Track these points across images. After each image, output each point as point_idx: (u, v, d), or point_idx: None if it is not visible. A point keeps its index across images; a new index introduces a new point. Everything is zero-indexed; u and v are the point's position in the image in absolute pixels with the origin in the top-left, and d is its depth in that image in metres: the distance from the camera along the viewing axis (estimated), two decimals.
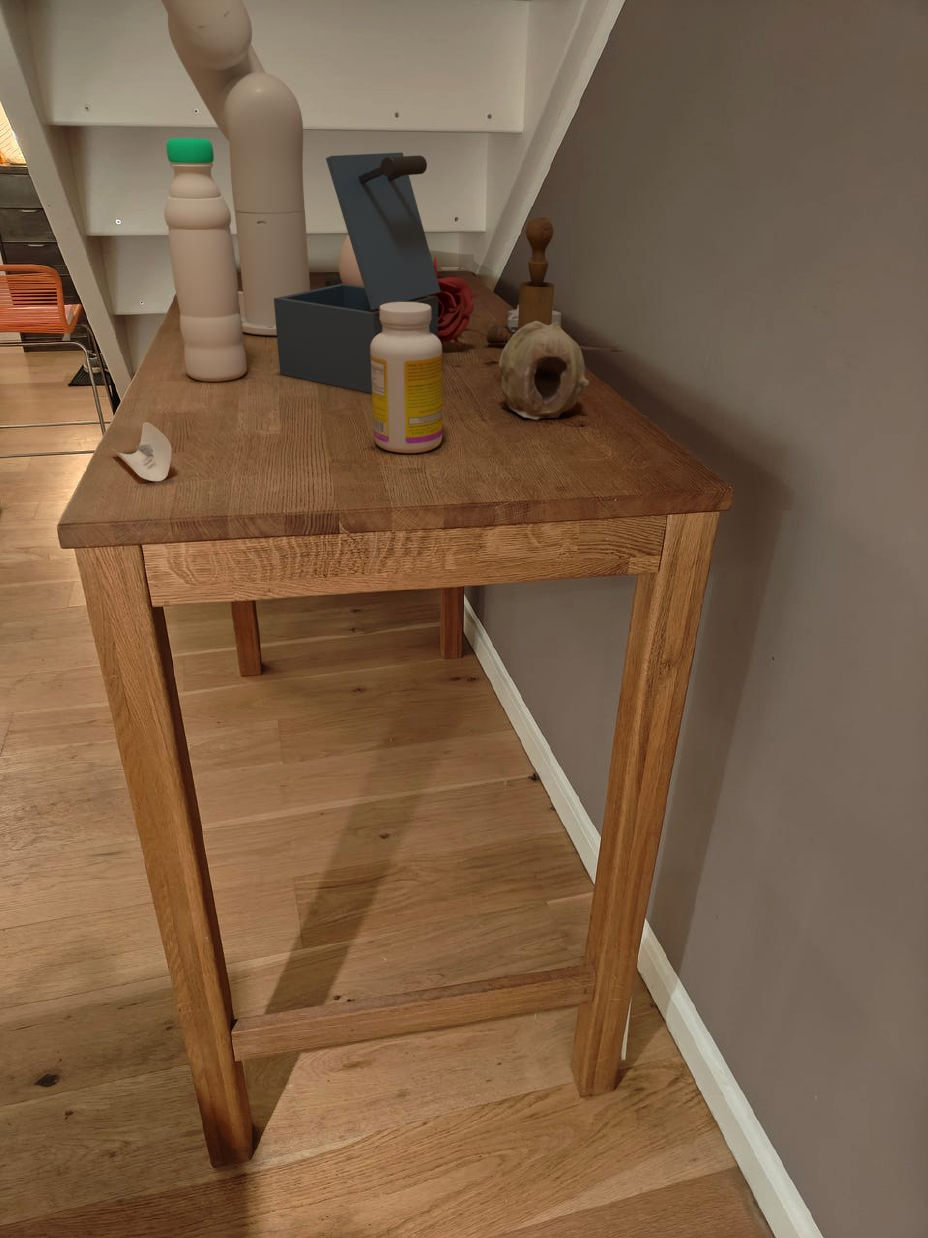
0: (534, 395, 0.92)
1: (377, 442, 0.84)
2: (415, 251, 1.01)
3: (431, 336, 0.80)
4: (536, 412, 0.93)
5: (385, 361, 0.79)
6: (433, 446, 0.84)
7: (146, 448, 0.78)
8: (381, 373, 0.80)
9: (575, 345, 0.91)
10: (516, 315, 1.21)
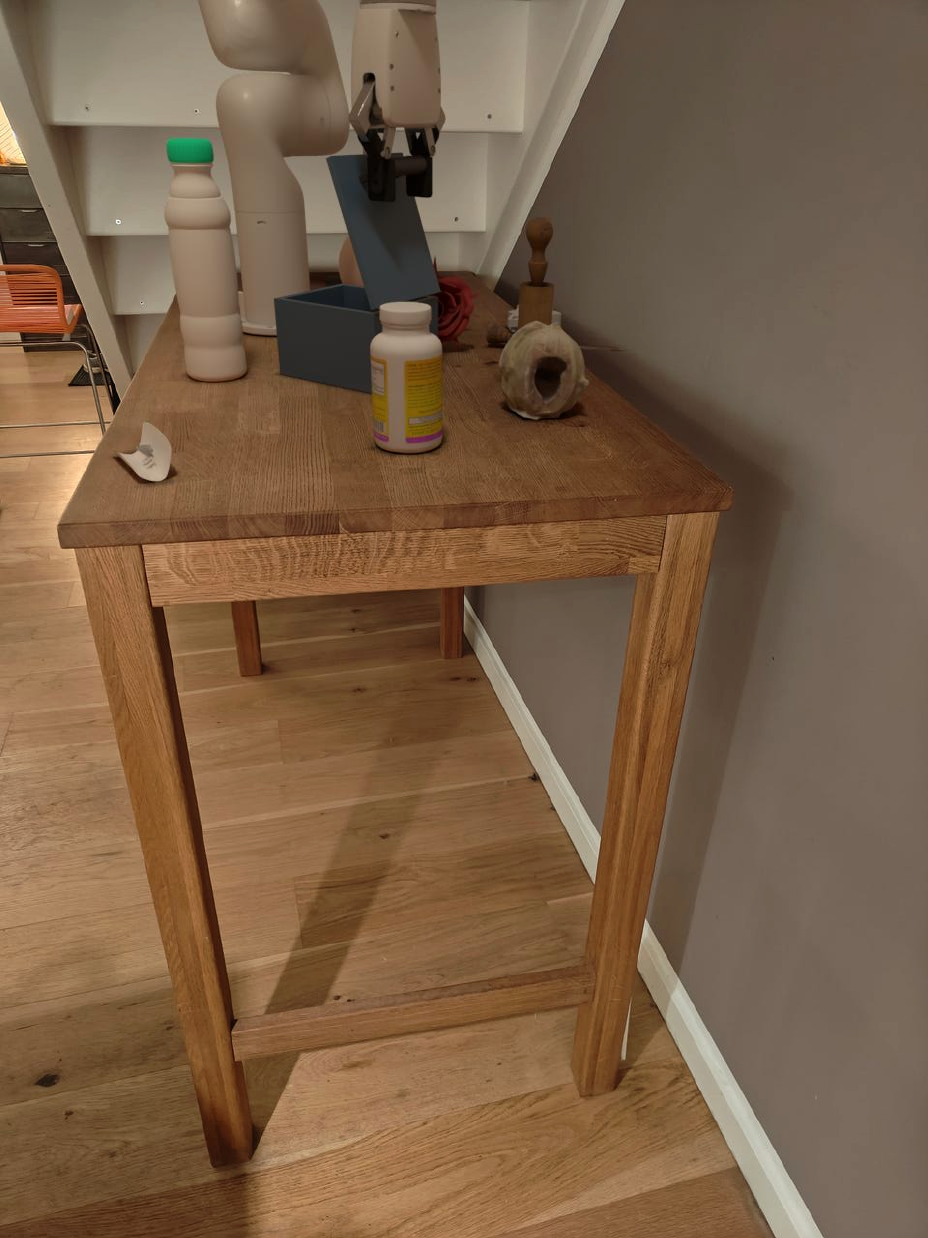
0: (534, 395, 0.92)
1: (377, 442, 0.84)
2: (415, 251, 1.01)
3: (431, 336, 0.80)
4: (536, 412, 0.93)
5: (385, 361, 0.79)
6: (433, 446, 0.84)
7: (146, 448, 0.78)
8: (381, 373, 0.80)
9: (575, 345, 0.91)
10: (516, 315, 1.21)
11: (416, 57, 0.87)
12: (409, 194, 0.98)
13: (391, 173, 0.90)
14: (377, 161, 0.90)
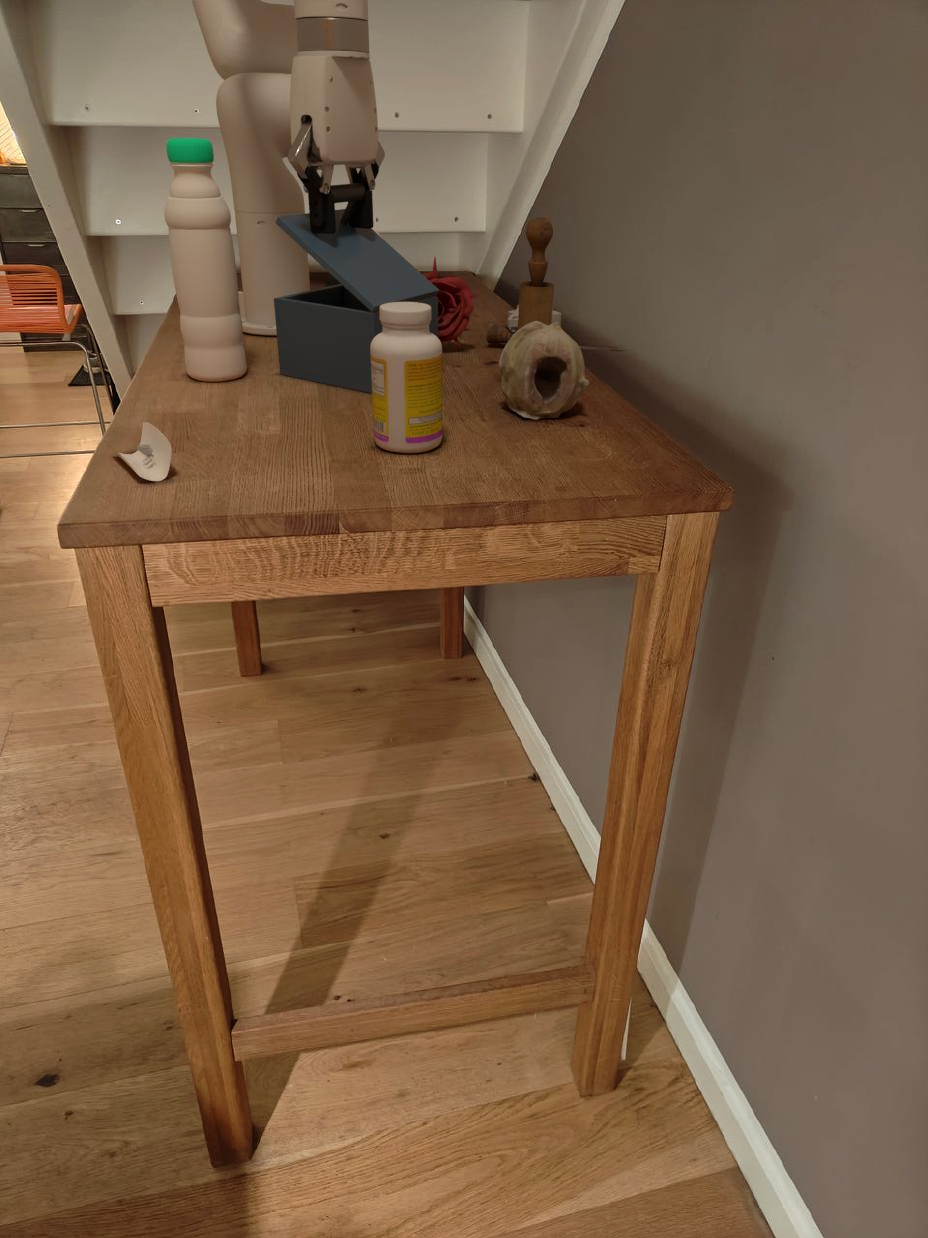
0: (534, 395, 0.92)
1: (377, 442, 0.84)
2: (396, 266, 1.03)
3: (431, 336, 0.80)
4: (536, 412, 0.93)
5: (385, 361, 0.79)
6: (433, 446, 0.84)
7: (146, 448, 0.78)
8: (381, 373, 0.80)
9: (575, 345, 0.91)
10: (516, 315, 1.21)
11: (351, 99, 0.93)
12: (352, 225, 1.03)
13: (330, 207, 0.96)
14: (317, 196, 0.95)
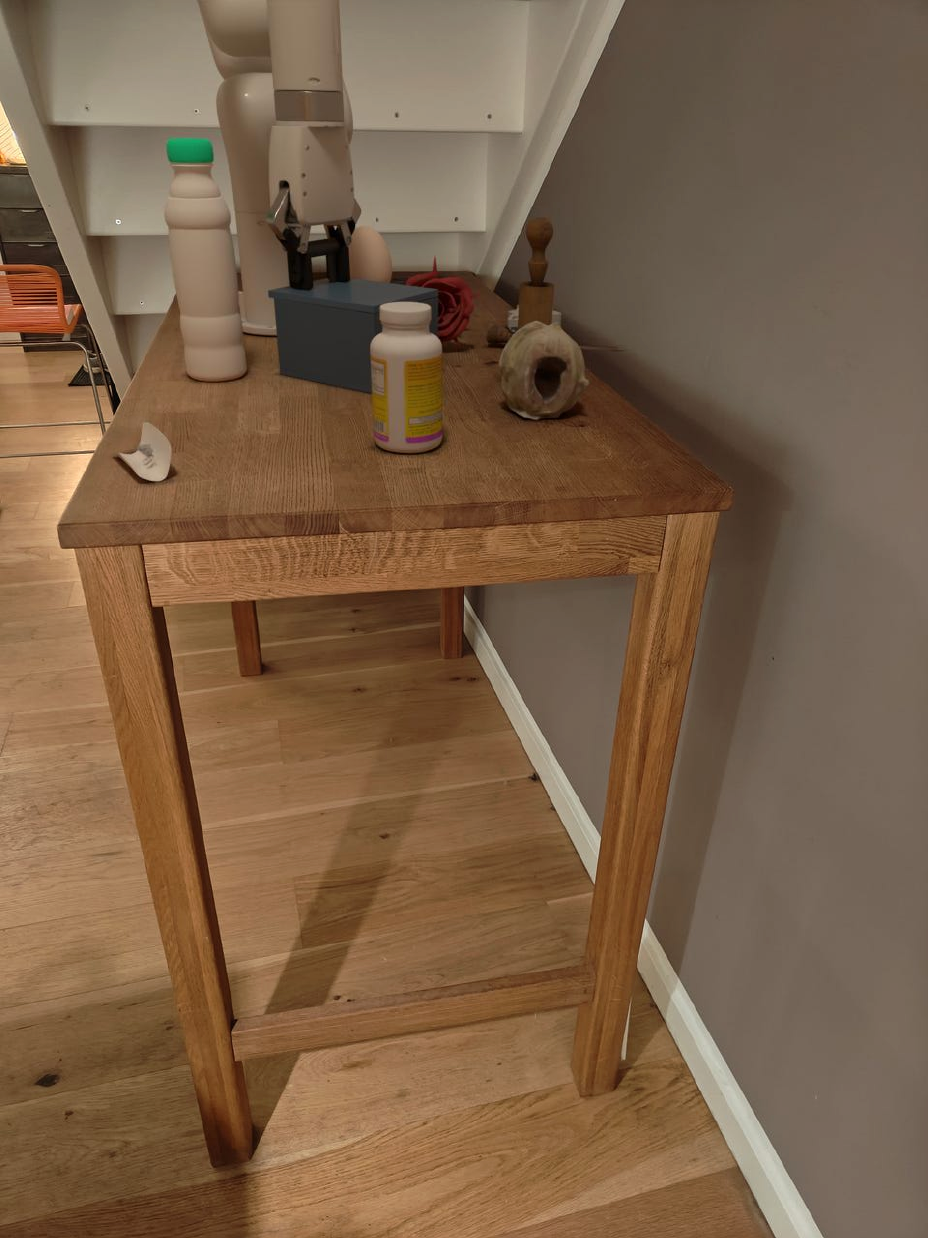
0: (534, 395, 0.92)
1: (377, 442, 0.84)
2: (391, 288, 1.04)
3: (431, 336, 0.80)
4: (536, 412, 0.93)
5: (385, 361, 0.79)
6: (433, 446, 0.84)
7: (146, 448, 0.78)
8: (381, 373, 0.80)
9: (575, 345, 0.91)
10: (516, 315, 1.21)
11: (327, 165, 0.98)
12: None
13: (308, 265, 1.01)
14: (295, 255, 1.00)
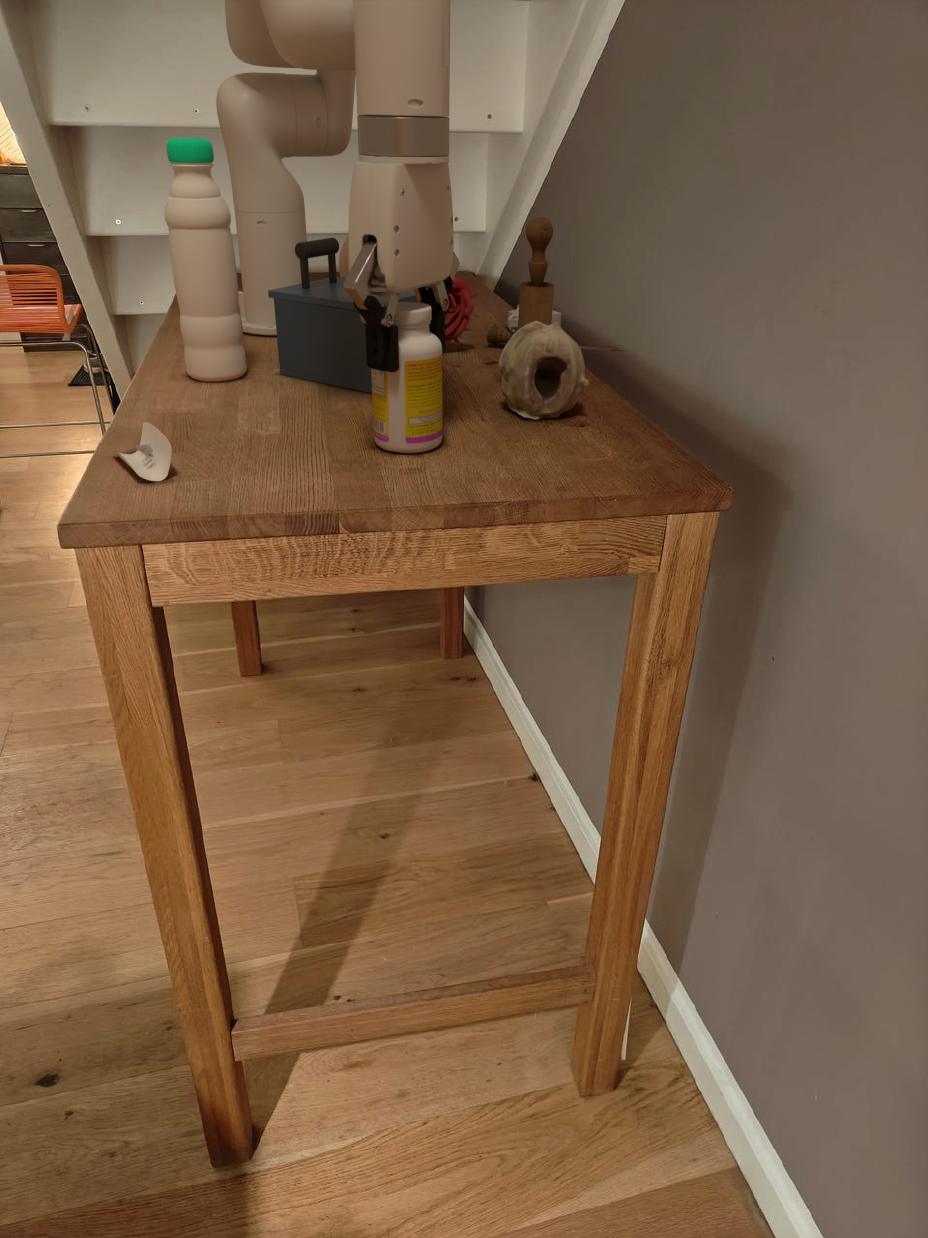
0: (534, 395, 0.92)
1: (377, 442, 0.84)
2: None
3: (431, 336, 0.80)
4: (536, 412, 0.93)
5: None
6: (433, 446, 0.84)
7: (146, 448, 0.78)
8: (381, 373, 0.80)
9: (575, 345, 0.91)
10: (516, 315, 1.21)
11: (425, 213, 0.74)
12: None
13: (393, 341, 0.77)
14: (377, 329, 0.76)
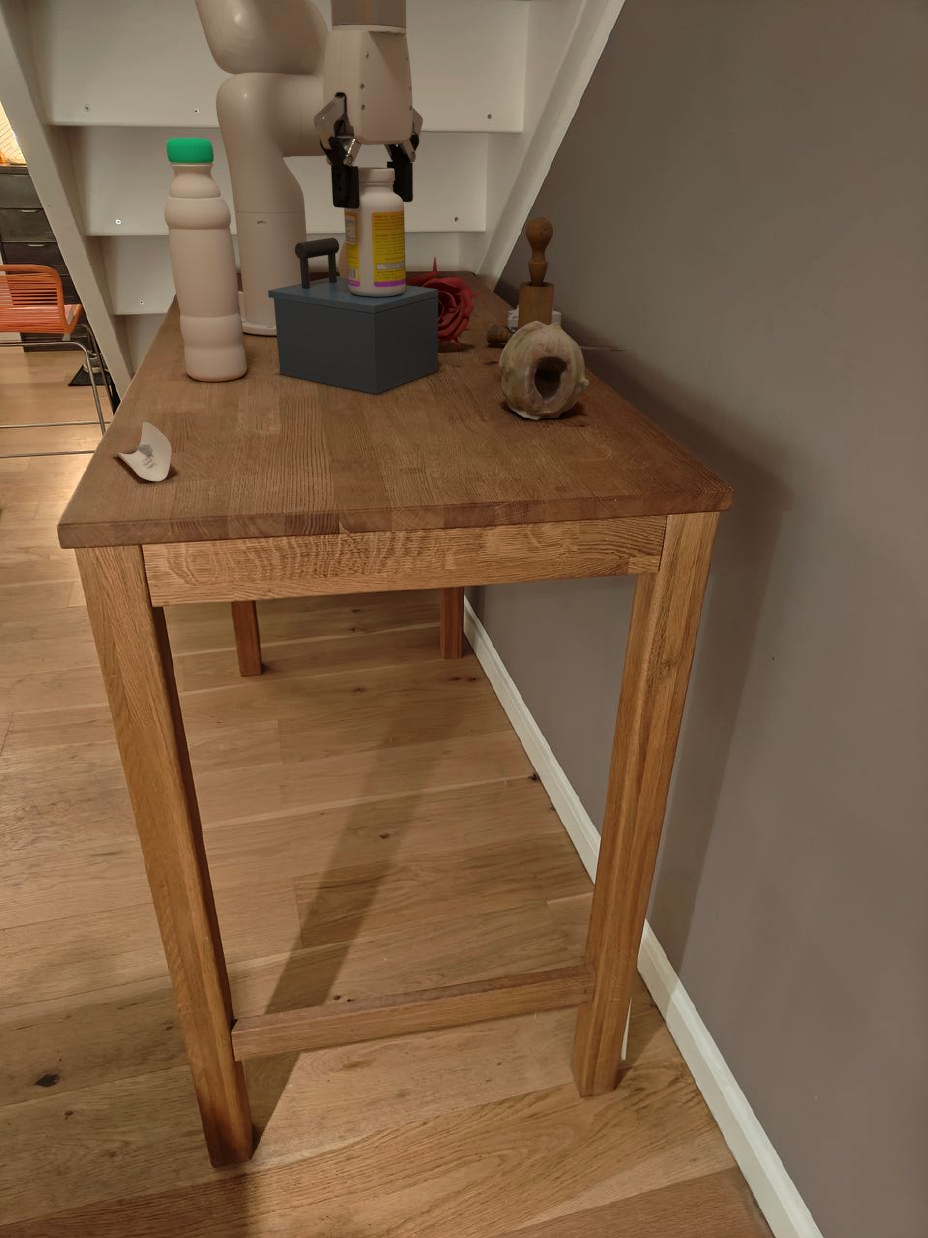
0: (534, 395, 0.92)
1: (350, 288, 1.00)
2: None
3: (394, 194, 0.96)
4: (536, 412, 0.93)
5: (355, 213, 0.95)
6: (397, 291, 1.00)
7: (146, 448, 0.78)
8: (353, 225, 0.96)
9: (575, 345, 0.91)
10: (516, 315, 1.21)
11: (387, 77, 0.89)
12: None
13: (354, 180, 0.91)
14: (340, 168, 0.91)
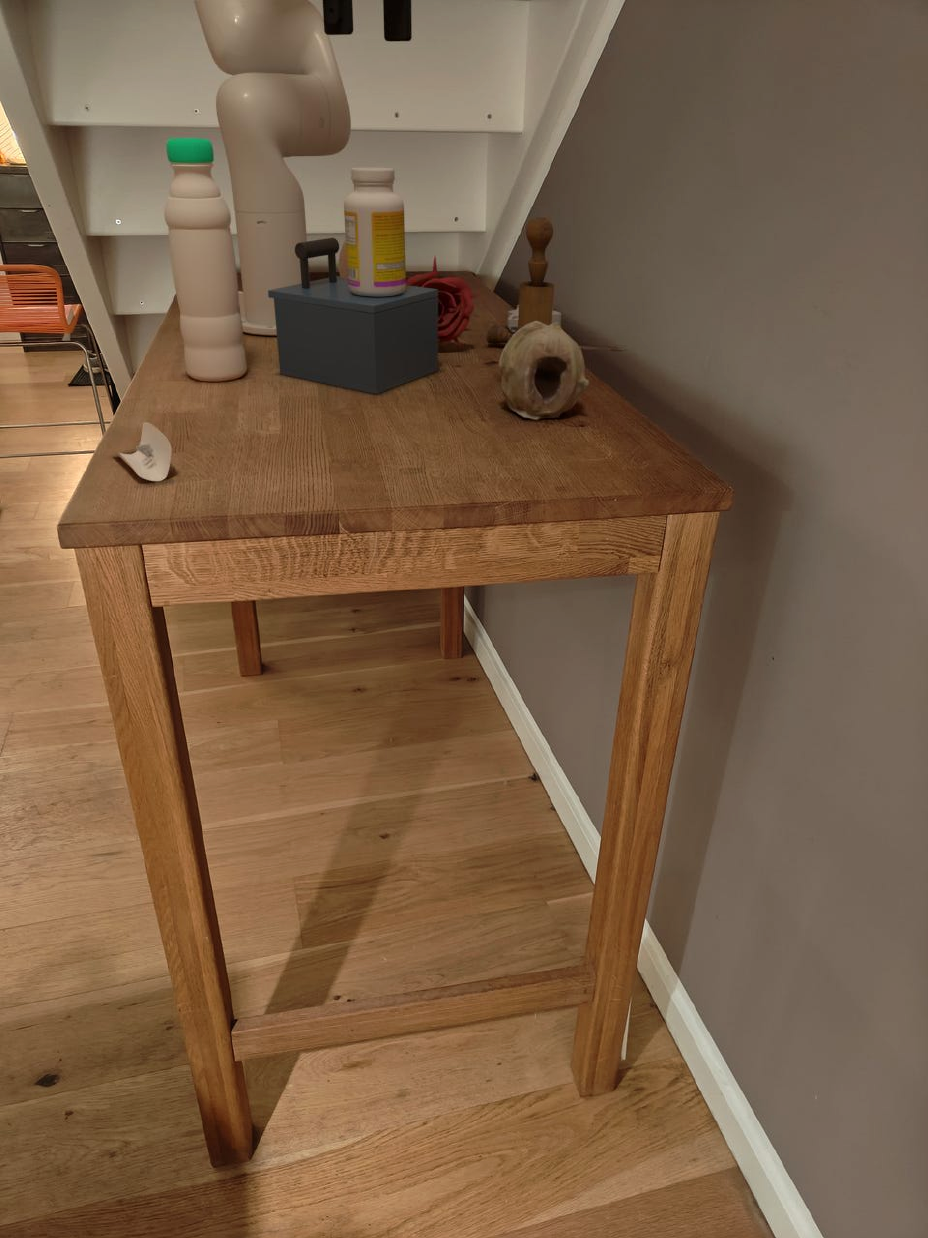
0: (534, 395, 0.92)
1: (350, 288, 1.00)
2: None
3: (394, 194, 0.96)
4: (536, 412, 0.93)
5: (355, 213, 0.95)
6: (397, 291, 1.00)
7: (146, 448, 0.78)
8: (353, 225, 0.96)
9: (575, 345, 0.91)
10: (516, 315, 1.21)
11: None
12: (387, 38, 0.93)
13: (347, 0, 0.83)
14: None
